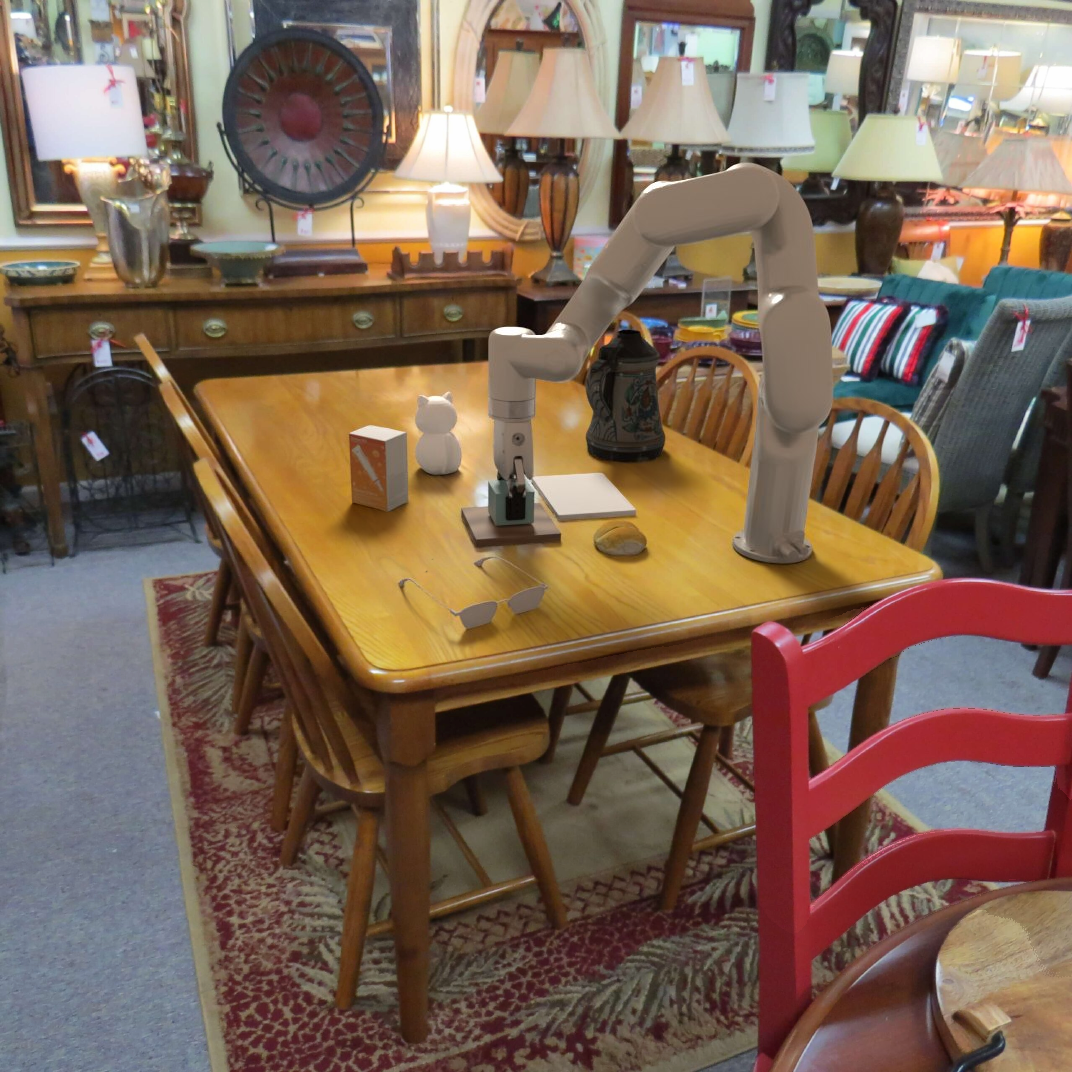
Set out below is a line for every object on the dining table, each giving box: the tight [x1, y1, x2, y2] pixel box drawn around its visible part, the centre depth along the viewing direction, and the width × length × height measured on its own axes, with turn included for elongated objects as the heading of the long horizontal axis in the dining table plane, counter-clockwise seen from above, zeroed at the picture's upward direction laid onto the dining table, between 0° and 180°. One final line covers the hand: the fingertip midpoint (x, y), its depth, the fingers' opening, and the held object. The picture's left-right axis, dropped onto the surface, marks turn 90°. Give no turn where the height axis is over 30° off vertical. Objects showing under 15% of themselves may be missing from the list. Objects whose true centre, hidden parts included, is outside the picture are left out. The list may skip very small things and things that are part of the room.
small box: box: [348, 424, 409, 513], centre depth 172 cm, size 8×6×13 cm
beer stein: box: [584, 329, 666, 464], centre depth 199 cm, size 16×19×25 cm
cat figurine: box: [414, 391, 463, 476], centre depth 188 cm, size 9×12×15 cm
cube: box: [487, 478, 535, 526], centre depth 163 cm, size 6×6×6 cm
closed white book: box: [530, 472, 637, 522], centre depth 179 cm, size 20×14×1 cm
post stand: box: [460, 502, 562, 549], centre depth 163 cm, size 14×14×6 cm
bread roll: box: [593, 519, 648, 557], centre depth 159 cm, size 8×9×4 cm
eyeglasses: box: [397, 555, 550, 630], centre depth 141 cm, size 15×18×4 cm
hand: (510, 510), depth 163 cm, fingers closed on cube, 6 cm apart
